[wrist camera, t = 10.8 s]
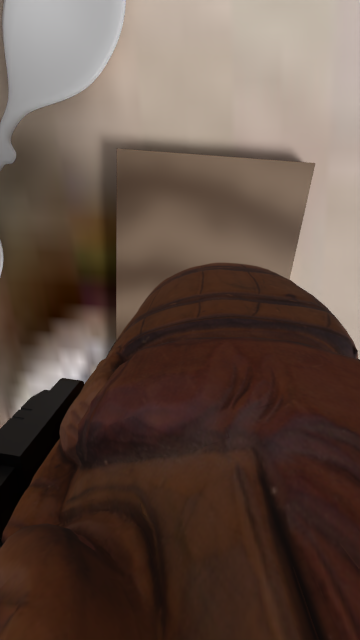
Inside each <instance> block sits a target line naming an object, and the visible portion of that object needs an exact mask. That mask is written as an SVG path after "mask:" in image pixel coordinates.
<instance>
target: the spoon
mask: <svg viewBox="0 0 360 640" xmlns="http://www.w3.org/2000/svg"><path fill="white" fill-rule="evenodd" d="M125 5H126V0H4V4H3V15H2V29H3V42H4V51H5V59H6V67H7V76H8V90H9V93H8V102H7V106H6V110H5V113H4V115H3V118H2V120H1V122H0V171H1V169H2V168H3V166H4V165H5V164H12V163H13V162H14V161H15V159H16V151H15V150H14V148H13V146H12V144H11V137H12V134H13V131H14V129H15V128H16V126H17V124H18V123H19V122H20V121H21V119H22V118H24V117H25V116H26V115H27V114H29V113H30V112H32V111H34V110H37V109H39V108H42V107H45V106H48V105H51V104H54V103H57V102H60V101H63V100H65V99H68V98H70V97H72V96H74V95H76V94H78V93H80V92H81V91H83V90H84V89H86V88H87V87H88V86H89V85H90V84H91V83H93V82H94V80H95V79H96V78H97V77H98V76H99V74H100V73H101V72H102V70H103V69H104V67H105V66H106V64H107V62H108V61H109V59H110V57H111V55H112V53H113V51H114V49H115V47H116V44H117V42H118V39H119V36H120V33H121V29H122V25H123V20H124V14H125ZM2 268H3V248H2V244H1V240H0V276H1V272H2Z"/></svg>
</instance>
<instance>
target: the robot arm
mask: <svg viewBox="0 0 360 640" xmlns="http://www.w3.org/2000/svg"><path fill="white" fill-rule="evenodd" d="M83 387H84V382H83V381H80V380H72V379H65V378H62V379H60V380H59V381H58V382H57V383H56V384H55V386H54V387H53V388H52V389H51V390H50V391H49V390H44V391H42V392H40V393H38V394H36V395H35V396H33V397H31V398H30V399H29V400H28V401H27V402H26V403H25V404H24V405H23V406H22V407H21V410H18V411H17V412H16V413H15V414H14V415H13V417H12V419H11V418H10V419H9V420H8V421H7V422H6V423H5V424H4V425H3V426H2V428H1V429H0V548H1V547H2V545H3V543H2V541H1V539H2V534H3V531H4V529H5V527H6V525H7V524H8V522H9V520H10V518H11V516H12V514H13V511H14V509H15V507H16V506H17V504H18V502H19V500H20V499H21V497H22V496H23V494H24V492H25V491H26V490H27V488H28V487H29V486H30V483H31V481H32V479H33V477H34V475H35V473H36V472H37V470H38V469H39V468H40V466H41V465H42V463H43V462H44V460H45V459H46V457H47V456H48V454H49V453H50V451H51V450H52V448H53V447H54V446H55V444H56V443H57V441H58V440H59V439H60V434H59V431H60V425H61V423H62V420H63V418H64V416H65V414H66V413H67V411H68V409H69V407H70V406H71V405H72V403H73V402H74V400H75V399H76V398H77V396H78V395H79V394H80V392H81V390H82V388H83Z"/></svg>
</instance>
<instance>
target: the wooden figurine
mask: <svg viewBox="0 0 360 640" xmlns="http://www.w3.org/2000/svg"><path fill="white" fill-rule="evenodd" d="M357 352H358V351H357V349H356V347H355V344H354V342H353V340H352V339H351V337H350V336H349V334H348V333H347V331H346V330H345V328H344V327H343V326H342V324H341V323H340V322H339V321H338V319H337V318H336V317H335V316H334V315H333V314H332V313H331V312H330V311H329V309H328V308H327V307H326V306H324V305H323V304H322V303H321V302H320V301H318V300H317V299H316V298H315V297H314V296H313V295H311V294H310V293H308V292H306V291H305V290H303V289H302V288H300V287H299V286H297V285H296V284H295V283H293V282H292V281H291V280H289V279H287V278H285V277H283V276H280V275H279V274H277V273H275V272H272V271H270V270H269V269H265V268H262V267H258V266H253V265H247V264H238V263H210V264H205V265H200V266H196V267H192V268H188V269H185V270H183V271H181V272H178V273H176V274H175V275H173V276H171V277H169V278H167V279H165V280H164V281H162V282H161V283H160V284H159V285H158V286H157V287H156V288H155V289H154V290H153V291H152V292H151V293H150V294H149V296H148V297H147V298H146V299H145V301H144V302H143V304H142V305H141V306H140V308H139V310H138V311H137V313H136V314H135V316H134V317H133V318H132V319H131V321H130V322H129V323H128V324H127V326H126V327H125V328H124V330H123V331H122V333H121V334H120V336H119V337H118V339H117V341H116V342H115V343H114V345H113V347H112V348H111V350H110V352H109V354H108V355H107V357H106V358H105V359H104V360H102V361H101V362H100V363H99V364H98V366H97V368H96V370H95V371H94V372H93V373H92V375H91V376H90V377H89V379H88V380H87V382H86V383H85V385H84V387H83V388H82V390H81V392H80V394H79V395H78V396H77V398H76V399H75V400H74V402H73V403H72V405H71V406H70V407H69V409H68V411H67V413H66V414H65V416H64V418H63V420H62V423H61V425H60V431H59V434H60V439H59V440H58V441H57V443H56V444H55V446H54V447H53V448H52V450H51V451H50V453H49V454H48V456H47V457H46V459H45V460H44V462H43V463H42V465H41V466H40V468H39V469H38V470H37V472H36V473H35V475H34V477H33V479H32V481H31V483H30V486H29V487H28V488H27V490H26V491H25V492H24V494H23V496H22V497H21V499H20V500H19V502H18V504H17V506H16V507H15V509H14V511H13V514H12V516H11V518H10V520H9V522H8V524H7V525H6V527H5V529H4V531H3V534H2V539H1V541H2V543H3V545H2V547H1V548H0V640H360V360H359V359H358V353H357Z"/></svg>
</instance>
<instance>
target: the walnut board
mask: <svg viewBox="0 0 360 640" xmlns="http://www.w3.org/2000/svg"><path fill="white" fill-rule="evenodd" d="M314 167H315V163H306V162H293V161H279V160H266V159H252V158H239V157H225V156H211V155H198V154H184V153H171V152H157V151H144V150H130V149H117V233H116V341H117V339H118V337H119V336H120V334H121V333H122V331H123V330H124V328H125V327H126V326H127V324H128V323H129V322H130V321H131V319H132V318H133V317H134V316H135V314H136V313H137V311H138V310H139V308H140V306H141V305H142V304H143V302H144V301H145V299H146V298H147V297H148V296H149V294H150V293H151V292H152V291H153V290H154V289H155V288H156V287H157V286H158V285H159V284H160V283H161V282H162V281H164V280H165V279H167V278H169V277H171V276H173V275H175V274H176V273H178V272H181V271H183V270H185V269H188V268H192V267H196V266H200V265H205V264H210V263H238V264H247V265H253V266H258V267H262V268H265V269H269V270H270V271H272V272H275V273H277V274H279V275H280V276H283V277H285V278H287V279H290V274H291V270H292V265H293V261H294V256H295V252H296V248H297V243H298V239H299V234H300V230H301V225H302V221H303V216H304V212H305V207H306V203H307V198H308V194H309V189H310V185H311V180H312V176H313V171H314Z"/></svg>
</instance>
